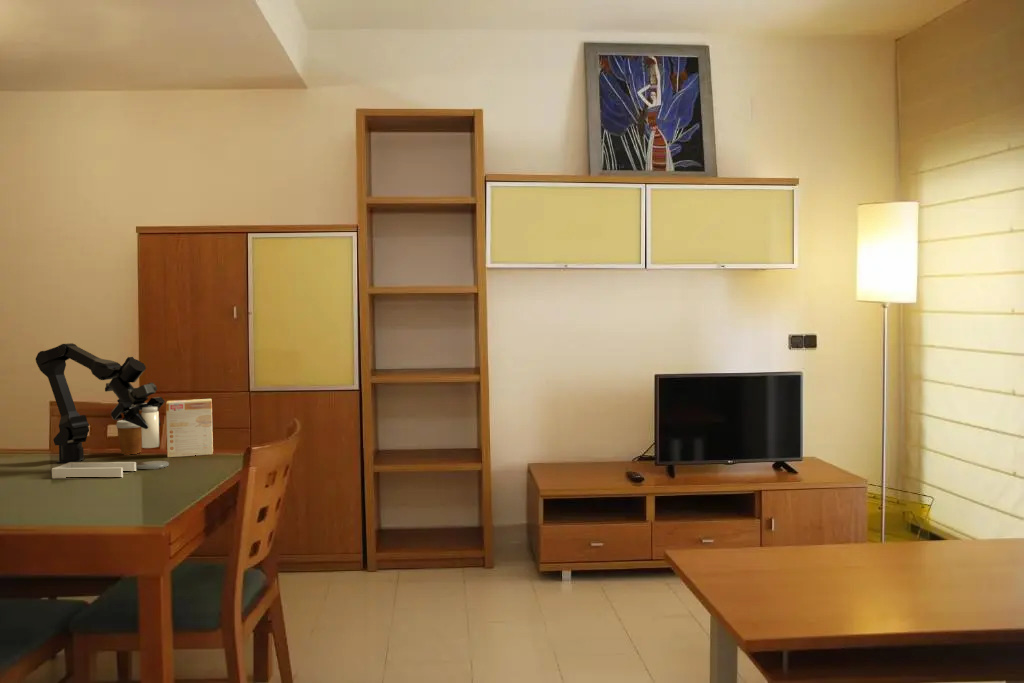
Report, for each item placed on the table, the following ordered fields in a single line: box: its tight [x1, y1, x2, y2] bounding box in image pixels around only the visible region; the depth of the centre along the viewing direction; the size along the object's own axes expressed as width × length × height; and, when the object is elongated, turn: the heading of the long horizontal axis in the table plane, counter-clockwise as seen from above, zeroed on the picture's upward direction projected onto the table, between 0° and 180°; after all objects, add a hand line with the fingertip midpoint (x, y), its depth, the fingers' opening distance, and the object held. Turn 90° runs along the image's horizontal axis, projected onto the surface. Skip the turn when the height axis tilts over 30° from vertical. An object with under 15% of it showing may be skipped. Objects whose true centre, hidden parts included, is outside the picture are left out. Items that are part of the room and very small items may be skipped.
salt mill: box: [140, 406, 160, 449], centre depth 261 cm, size 5×5×13 cm
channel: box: [51, 461, 137, 479], centre depth 250 cm, size 21×10×3 cm, turn 91°
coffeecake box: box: [165, 398, 214, 458], centre depth 284 cm, size 15×7×20 cm, turn 110°
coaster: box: [136, 460, 169, 470], centre depth 262 cm, size 10×10×1 cm
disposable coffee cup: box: [115, 419, 143, 456], centre depth 286 cm, size 10×10×12 cm
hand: (153, 426), depth 261 cm, fingers closed on salt mill, 5 cm apart
